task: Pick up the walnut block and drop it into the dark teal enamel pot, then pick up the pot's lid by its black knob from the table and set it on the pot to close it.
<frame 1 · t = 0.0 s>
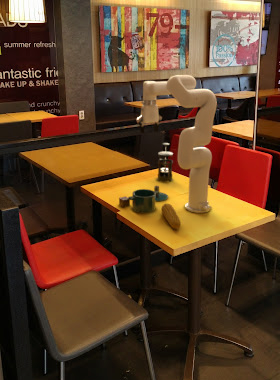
hand: (149, 132, 230), 31 cm above the table, tool pointing down, fingers open, 9 cm apart
french press: (164, 179, 243), on the table
block: (124, 205, 202), on the table
lid: (156, 197, 213), point 1 cm above the table
pot: (143, 209, 198), on the table
food: (171, 222, 184), on the table
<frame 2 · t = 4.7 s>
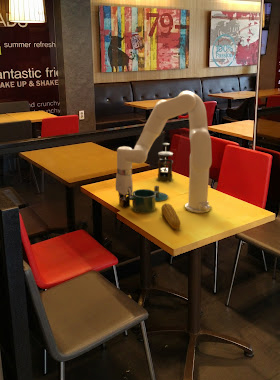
hand: (124, 205, 202), 0 cm above the table, tool pointing down, fingers closed on block, 4 cm apart
block: (124, 205, 202), on the table, touching gripper
everything else where it was.
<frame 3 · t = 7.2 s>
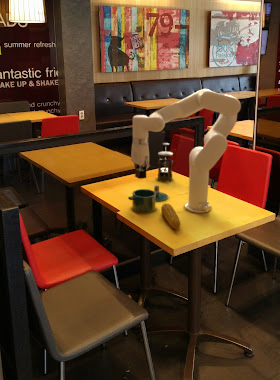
hand: (140, 176, 195), 17 cm above the table, tool pointing down, fingers closed on block, 4 cm apart
block: (140, 177, 195), point 17 cm above the table, touching gripper
everything else where it was.
when the fingers open (7 cm above the table, at t = 10.0 s): block drops 6 cm, resting on pot.
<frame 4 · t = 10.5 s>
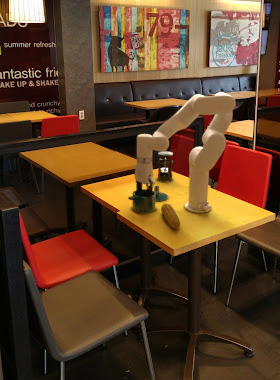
hand: (144, 193, 196), 9 cm above the table, tool pointing down, fingers open, 8 cm apart
block: (143, 208, 198), resting on pot
everything else where it was.
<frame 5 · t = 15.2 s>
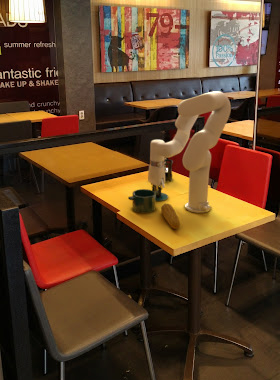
hand: (156, 195, 213), 1 cm above the table, tool pointing down, fingers closed on lid, 2 cm apart
lid: (156, 197, 213), point 1 cm above the table, touching gripper
everything else where it was.
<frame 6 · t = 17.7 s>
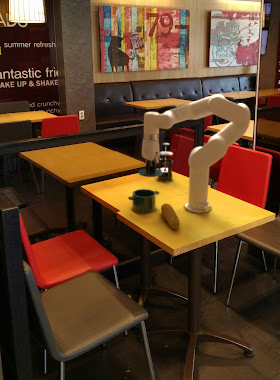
hand: (150, 171, 201), 17 cm above the table, tool pointing down, fingers closed on lid, 2 cm apart
lid: (150, 173, 202), point 17 cm above the table, touching gripper
everything else where it was.
when the fingers open (9 cm above the table, at t = 20.6 s): lid stays where it is, resting on pot.
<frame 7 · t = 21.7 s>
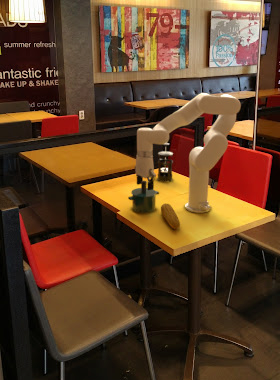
hand: (145, 186, 196), 12 cm above the table, tool pointing down, fingers open, 9 cm apart
lid: (143, 193, 196), point 8 cm above the table, touching pot
everything else where it was.
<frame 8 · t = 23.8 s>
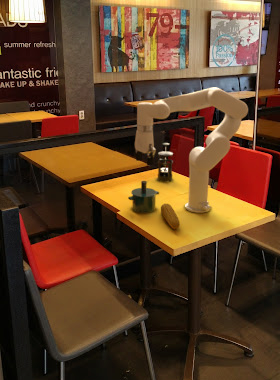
hand: (144, 162, 193), 24 cm above the table, tool pointing down, fingers open, 9 cm apart
nothing on the table moved.
at the end: block inside the target area in the pot (0.0 cm from its centre), point 0.5 cm above the pot's base; lid 0.1 cm off-centre on the pot, point 8.5 cm above the pot's base; lid tilted 0° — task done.
